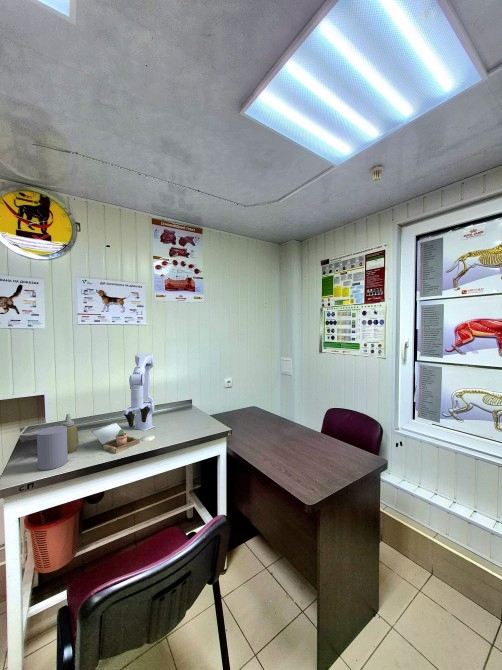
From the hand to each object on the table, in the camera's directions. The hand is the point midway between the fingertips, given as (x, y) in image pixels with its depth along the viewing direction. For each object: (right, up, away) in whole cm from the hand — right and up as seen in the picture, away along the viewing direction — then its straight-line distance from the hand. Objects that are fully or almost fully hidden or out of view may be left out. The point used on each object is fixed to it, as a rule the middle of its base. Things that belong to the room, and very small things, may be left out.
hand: (137, 424), depth 134 cm
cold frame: (-8, -10, -1) cm, 13 cm away
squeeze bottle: (-30, -11, -8) cm, 32 cm away
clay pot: (-7, -10, -3) cm, 12 cm away
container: (-28, -11, -20) cm, 36 cm away
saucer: (+3, -10, +6) cm, 12 cm away
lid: (-15, -5, +1) cm, 16 cm away
